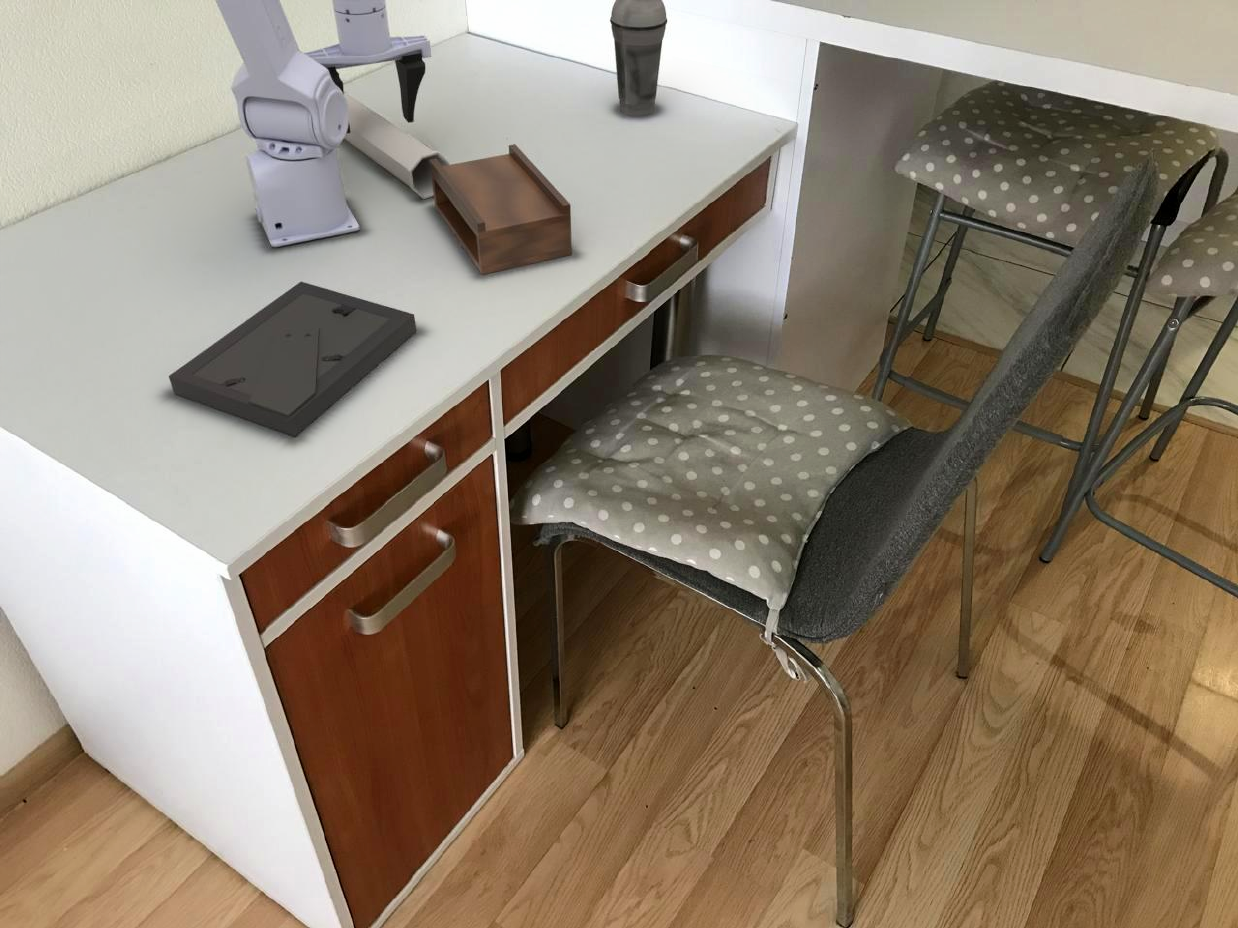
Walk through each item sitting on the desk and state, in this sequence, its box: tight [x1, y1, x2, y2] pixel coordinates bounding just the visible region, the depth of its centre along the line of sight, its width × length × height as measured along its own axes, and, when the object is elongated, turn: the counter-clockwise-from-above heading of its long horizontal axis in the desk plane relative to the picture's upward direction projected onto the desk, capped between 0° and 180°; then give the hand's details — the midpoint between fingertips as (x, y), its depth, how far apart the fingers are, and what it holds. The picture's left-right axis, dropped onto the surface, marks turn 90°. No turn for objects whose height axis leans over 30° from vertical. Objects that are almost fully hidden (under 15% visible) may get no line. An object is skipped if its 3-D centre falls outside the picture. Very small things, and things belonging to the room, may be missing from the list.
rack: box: [430, 143, 573, 275], centre depth 113 cm, size 10×16×6 cm, turn 25°
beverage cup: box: [609, 0, 668, 117], centre depth 134 cm, size 7×7×20 cm
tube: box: [343, 91, 450, 200], centre depth 127 cm, size 5×5×25 cm
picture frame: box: [168, 281, 417, 438], centre depth 95 cm, size 13×2×18 cm
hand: (377, 125), depth 126 cm, fingers open, 7 cm apart
